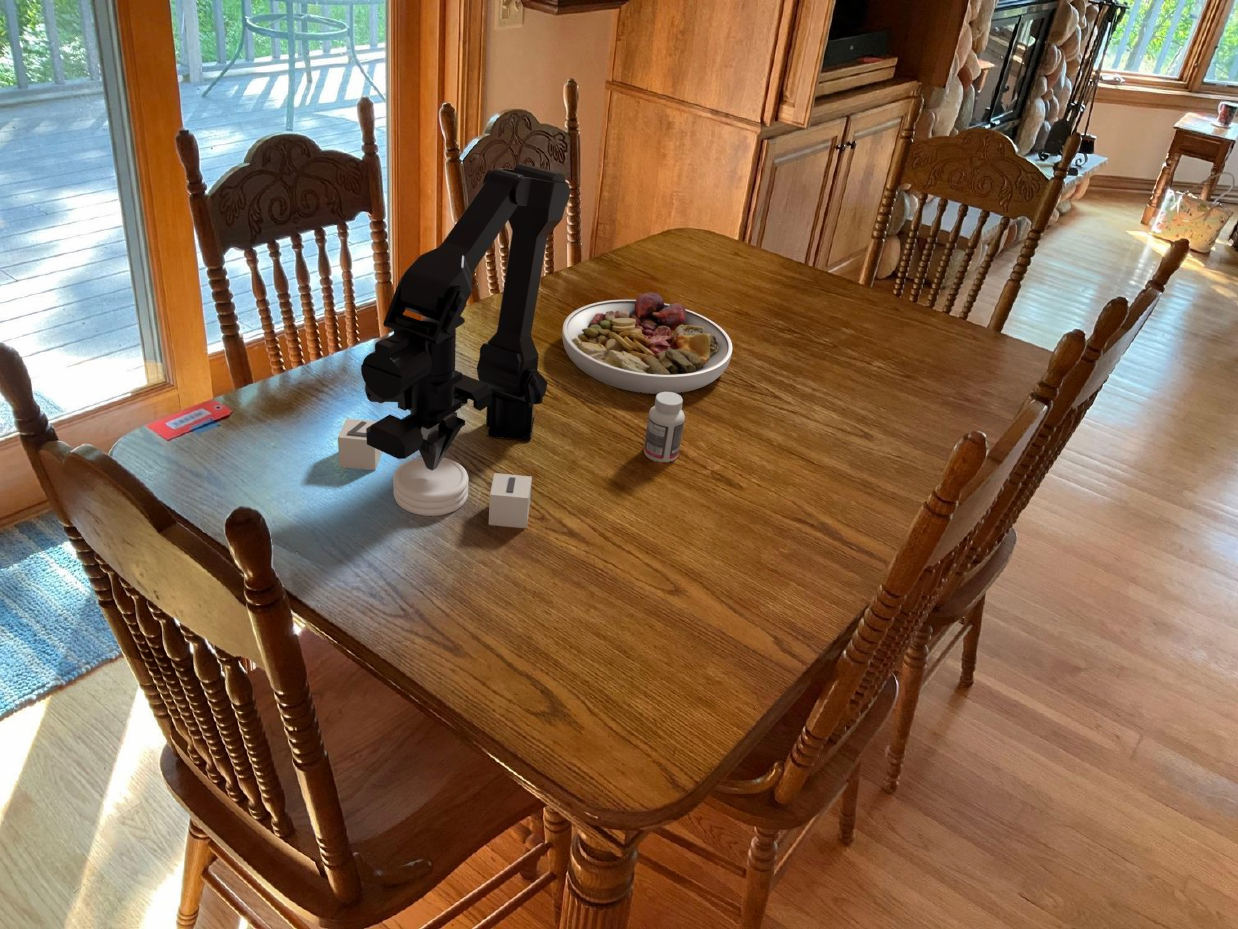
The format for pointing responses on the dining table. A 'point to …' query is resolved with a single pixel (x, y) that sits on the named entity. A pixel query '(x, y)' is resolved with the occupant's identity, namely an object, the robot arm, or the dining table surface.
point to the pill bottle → (664, 428)
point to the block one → (510, 500)
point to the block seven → (357, 446)
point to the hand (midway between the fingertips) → (431, 468)
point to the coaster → (430, 487)
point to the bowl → (646, 345)
